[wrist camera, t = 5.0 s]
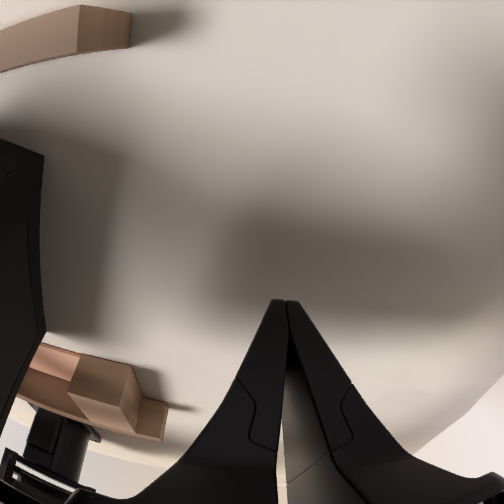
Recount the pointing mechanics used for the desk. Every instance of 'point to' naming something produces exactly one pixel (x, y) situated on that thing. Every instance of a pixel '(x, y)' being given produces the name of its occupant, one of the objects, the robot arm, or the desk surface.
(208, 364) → the desk surface
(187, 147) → the desk surface
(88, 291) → the desk surface
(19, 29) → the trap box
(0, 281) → the digital camera
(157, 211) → the desk surface
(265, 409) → the robot arm
